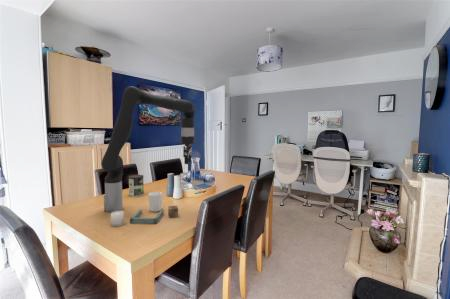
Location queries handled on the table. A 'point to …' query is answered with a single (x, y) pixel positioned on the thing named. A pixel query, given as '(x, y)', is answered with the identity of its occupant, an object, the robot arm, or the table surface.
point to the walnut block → (172, 211)
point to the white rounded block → (117, 218)
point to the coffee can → (136, 185)
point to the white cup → (155, 201)
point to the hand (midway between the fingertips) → (187, 162)
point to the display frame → (136, 218)
